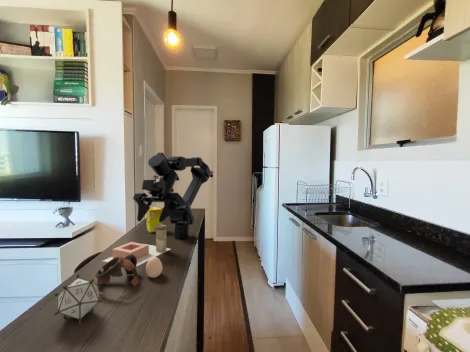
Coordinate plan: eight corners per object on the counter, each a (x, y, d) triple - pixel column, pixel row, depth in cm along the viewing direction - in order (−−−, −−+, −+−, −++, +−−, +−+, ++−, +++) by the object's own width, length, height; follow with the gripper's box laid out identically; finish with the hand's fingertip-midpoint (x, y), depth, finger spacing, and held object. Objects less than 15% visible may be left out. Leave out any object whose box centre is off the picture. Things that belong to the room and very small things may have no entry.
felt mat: (143, 245, 95) (143, 243, 95) (171, 250, 89) (171, 248, 89) (102, 262, 78) (102, 260, 78) (132, 269, 73) (132, 268, 73)
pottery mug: (133, 296, 60) (113, 270, 58) (103, 308, 62) (83, 284, 60) (152, 264, 71) (136, 242, 69) (126, 275, 73) (110, 254, 71)
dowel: (160, 248, 89) (160, 224, 89) (166, 250, 88) (166, 225, 88) (155, 251, 87) (155, 226, 86) (161, 252, 86) (161, 227, 85)
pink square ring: (131, 250, 88) (131, 241, 88) (148, 253, 85) (148, 245, 84) (112, 258, 80) (112, 249, 80) (130, 262, 77) (130, 252, 77)
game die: (75, 330, 52) (73, 282, 57) (113, 314, 53) (108, 268, 57) (40, 336, 44) (41, 279, 49) (86, 317, 45) (83, 263, 49)
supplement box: (146, 231, 114) (145, 207, 113) (159, 229, 117) (158, 206, 116) (149, 234, 109) (149, 210, 108) (162, 232, 112) (162, 208, 111)
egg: (142, 280, 67) (142, 260, 66) (150, 273, 71) (150, 254, 71) (158, 281, 66) (157, 261, 66) (165, 274, 70) (164, 254, 70)
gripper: (133, 171, 89) (112, 209, 80) (175, 169, 82) (157, 210, 73) (150, 188, 97) (133, 224, 88) (190, 187, 90) (176, 226, 81)
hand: (149, 221), depth 83 cm, fingers open, 9 cm apart
